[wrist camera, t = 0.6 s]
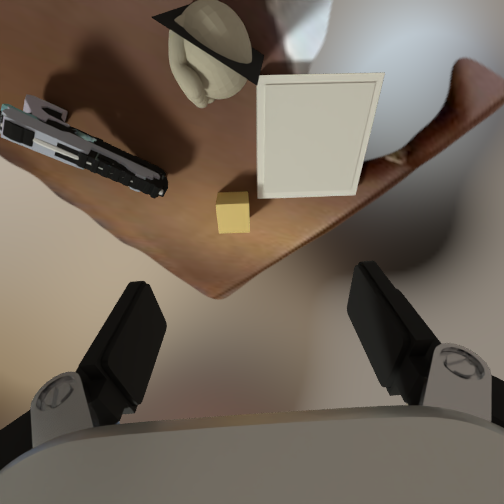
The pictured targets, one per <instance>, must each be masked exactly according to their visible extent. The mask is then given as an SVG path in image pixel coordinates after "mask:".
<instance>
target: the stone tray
mask: <svg viewBox="0 0 504 504" xmlns="http://www.w3.org/2000/svg"><path fill="white" fill-rule="evenodd" d="M384 75H385V73H342V74H297V75H260V76H259V80H258V85H256V144H257V198H258V199H263V198H290V197H317V196H344V195H355V194H356V190H357V186H358V182H359V178H360V174H361V170H362V166H363V161H364V157H365V153H366V149H367V145H368V140H369V136H370V133H371V128H372V124H373V120H374V116H375V112H376V108H377V103H378V100H379V95H380V91H381V87H382V83H383V78H384Z"/></svg>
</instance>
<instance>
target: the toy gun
mask: <svg viewBox="0 0 504 504" xmlns="http://www.w3.org/2000/svg"><path fill="white" fill-rule="evenodd" d="M67 113H68V111H66V110H64V109H63V108H61V107H58V106H56V105H54V104H51V103H49V102H47V101H44V100H42V99H40V98H37V97H35V96H32V95H26V98H25V103H24V109H23V111H21V110H19V109H17V108H15V107H13V106H11V105H9V104H2V107H1V111H0V133H1V137H2V138H4V139H7V140H9V141H12V142H14V143H17V144H19V145H22V146H24V147H27V148H29V149H32V150H34V151H37V152H39V153H42V154H44V155H47V156H49V157H52V158H54V159H57V160H59V161H62V162H64V163H67V164H69V165H72V166H74V167H78V168H81V169H84V168H85V169H88V170H90V171H91V172H93V173H98V174H100V175H101V176H103V177H106V178H110V179H112V180H113V181H116V182H120V183H122V184H123V185H125V186H129V187H130V189H132V190H135V191H137V192H139V191H142V192H143V193H145V194H149V195H150V196H151V197H152V198H156V197H158V196H162V197H163V196H164V194H165V192H166V191H167V189H168V180H167V177H166V176H165V175H166V173H165V172H164V170H162V169H161V168H159V167H158V166H156V165H152V164H150V163H148V162H147V161H145V160H142V159H140V158H139V157H137V156H133V155H131V154H129V153H126V152H125V151H122V150H121V149H118V148H116V147H114V146H112V145H110V144H108V143H106V142H103V140H102V139H99V138H96V137H93V136H91V135H89V134H87V133H85V132H83V131H80V130H78V129H76V128H73V127H70V125H69V124H67V123H65V121H66V117H67Z"/></svg>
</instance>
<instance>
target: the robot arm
mask: <svg viewBox="0 0 504 504" xmlns="http://www.w3.org/2000/svg"><path fill="white" fill-rule="evenodd" d="M347 312H348V315H349V317H350V320H351V322H352V324H353V326H354V328H355V330H356V333H357V335H358V337H359V339H360V341H361V343H362V346H363V348H364V350H365V352H366V354H367V356H368V359H369V361H370V363H371V365H372V367H373V369H374V372H375V374H376V376H377V378H378V380H379V382H380V384H381V386H382V387H386V388H387V391H388V393H389V395H390V396H391V395H401V396H402V398H403V400H404V402H406V405H404V406H403V405H399V406H377V407H355V408H338V409H322V410H306V411H291V412H277V413H276V412H275V413H261V414H246V415H231V416H217V417H203V418H191V419H190V418H189V419H176V420H162V421H148V422H138V423H127V424H120V422H119V421H120V419H121V416H122V414H130V413H131V414H132V413H135V411H136V408H137V406H138V405H139V404H141V402H142V400H143V397H144V395H145V392H146V389H147V386H148V382H149V380H150V377H151V373H152V371H153V368H154V365H155V362H156V359H157V356H158V352H159V349H160V347H161V343H162V341H163V337H164V335H165V332H166V327H167V325H166V321H165V318H164V316H163V314H162V312H161V309H160V307H159V305H158V303H157V301H156V298H155V296H154V294H153V291H152V289H151V287H150V285H149V284H146V282H144V281H137V282H130V283H129V284H128V285H127V287H126V289H125V290H124V292H123V294H122V296H121V297H120V299H119V300H118V302H117V304H116V305H115V307H114V308H113V310H112V312H111V313H110V315H109V317H108V318H107V320H106V322H105V323H104V325H103V327H102V328H101V330H100V331H99V333H98V335H97V336H96V338H95V340H94V341H93V343H92V345H91V346H90V348H89V350H88V351H87V353H86V354H85V356H84V358H83V359H82V361H81V363H80V364H79V367H78V369H77V370H76V372H66V373H62V374H60V375H58V376H56V377H54V378H52V379H51V380H50V381H48V382H47V383H46V384H45V385H44V386H42V387H41V388H40V390H39V391H38V392H37V393H36V395H35V396H34V398H33V400H32V403H31V409H30V410H29V411H28V412H26V413H25V414H23V415H22V416H20V417H19V418H17V419H16V420H14V421H13V422H12V423H10V424H9V425H7V426H6V427H4V428H3V429H1V430H0V504H504V381H503V380H500V379H499V378H497V377H494V376H492V375H491V372H490V369H489V367H488V365H487V364H486V362H485V361H484V360H483V359H482V358H481V357H479V356H478V355H477V354H476V353H474V352H473V351H471V350H469V349H467V348H465V347H463V346H460V345H457V344H451V343H445V344H441V343H440V341H439V340H438V339H437V338H436V336H435V335H434V334H433V332H432V331H431V330H430V328H429V327H428V326H427V325H426V323H425V322H424V321H423V319H422V318H421V317H420V316H419V315H418V313H417V312H416V311H415V309H414V308H413V307H412V305H411V304H410V303H409V302H408V300H407V299H406V298H405V297H404V295H403V294H402V293H401V292H400V291H399V290H398V289H396V288H395V287H394V286H393V284H392V283H391V282H390V280H388V278H387V277H386V276H385V274H384V273H383V271H382V270H381V269H380V267H379V266H378V265H377V264H376V262H374V261H364V262H359V264H358V265H356V266H355V268H354V273H353V278H352V283H351V289H350V294H349V299H348V305H347Z"/></svg>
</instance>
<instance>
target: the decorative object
mask: <svg viewBox="0 0 504 504" xmlns="http://www.w3.org/2000/svg"><path fill="white" fill-rule="evenodd" d="M152 18H153V19H155V20H156V21H158V22H159V23H161V24H162V25H164V26H166V27H167V28H169V29H170V31H169V62H170V67H171V70H172V73H173V75H174V77H175V79H176V80H177V82H178V84H179V86H180V87H181V89H182V90H183V92H184V93H185V94H186V96H187V97H188V99H189V100H190V101H192V102H193V103H194V104H195V105H196V106H197V107H199V108H204V107H206V106H207V104H208V103H212V102H214V100H215V99H225V98H229V97H231V96H233V95H235V94H236V93H237V92H239V91H240V90H241V89H242V87H243V86H244V85H245V83H246V81H247V79H248V80H249V81H251V82H252V83H254V84H255V85H258V80H259V76H260V72H261V67H262V63H263V58H264V55H262V54H261V53H260V52H258V51H257V50H255V49H254V48H252V47H251V43H250V39H249V36H248V33H247V31H246V28H245V26H244V24H243V22H242V21H241V19H240V18H239V17H238V15H237V14H236V13H235V12H234V11H233V10H232V9H231V8H230V7H229V6H227V5H226V4H224V3H222V2H220V1H218V0H198V1H195V2H193V3H192V4H189V5H186V6H183V7H180V8H177V9H174V10H171V11H168V12H165V13H162V14H159V15H156V16H153V17H152Z"/></svg>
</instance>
